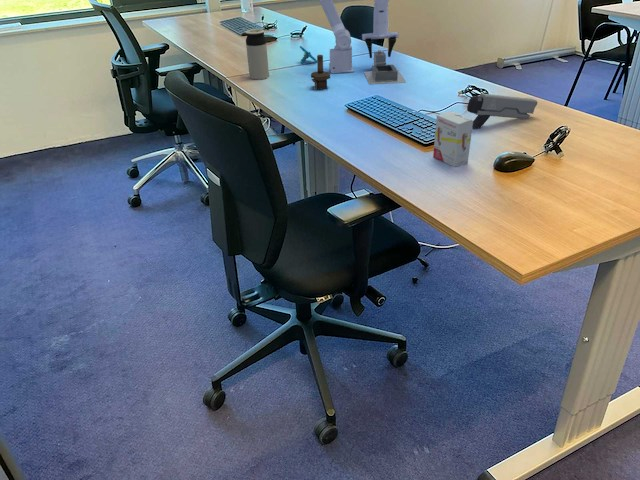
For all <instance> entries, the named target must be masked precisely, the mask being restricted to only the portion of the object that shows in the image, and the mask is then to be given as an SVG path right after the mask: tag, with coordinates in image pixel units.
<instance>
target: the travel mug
mask: <svg viewBox="0 0 640 480" xmlns="http://www.w3.org/2000/svg"><path fill="white" fill-rule="evenodd" d="M264 34H265V30H264V29H262V28H253V29H252V28H251V29H248V30H245V35H246V39H245V47H246V55H247V64H248V66H247V67H248V72H249V73H248V75H249V79H252V80H256V79H260V80H264V78H265V79H267V78H269V77H270V72H269V59H268V48H267V46H268V45H267V38H266V37H265V35H264Z"/></svg>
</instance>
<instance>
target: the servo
mask: <svg viewBox="0 0 640 480" xmlns="http://www.w3.org/2000/svg"><path fill="white" fill-rule="evenodd" d="M372 59H373V66H374V65H387V60H386V59H387V55H386V53H385V51H381V50H380V49H379V50H377V51H373V57H372Z"/></svg>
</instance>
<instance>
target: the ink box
mask: <svg viewBox="0 0 640 480" xmlns="http://www.w3.org/2000/svg"><path fill="white" fill-rule="evenodd" d="M435 121H436V122H435V134H434V145H433V156H432V157H433V158H435V159H437V160H439V161H441V162H443V163H445V164H448V165H450V166H452V167H453V168H457V167H459V166H462V165H465V164H468V163H469V155H470V149H471V140H472V135H473V134H472V133H473V128H472V126H473V121H474V119H472V118H470V117H468V116H466V115H463V114H460V113H458V112H455V111H453V110H452V111H446V112H444V113H440V114H437V115H436V120H435Z"/></svg>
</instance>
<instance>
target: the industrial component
mask: <svg viewBox="0 0 640 480" xmlns="http://www.w3.org/2000/svg"><path fill="white" fill-rule="evenodd" d="M316 60H317V63H316V65H317V71H313V72H311V73H310V78H311V81H312V82H313V84H314V90H326V89H327V88H328V80H329V79H331V72H329V71H324V55H323V54H317V56H316Z"/></svg>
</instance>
